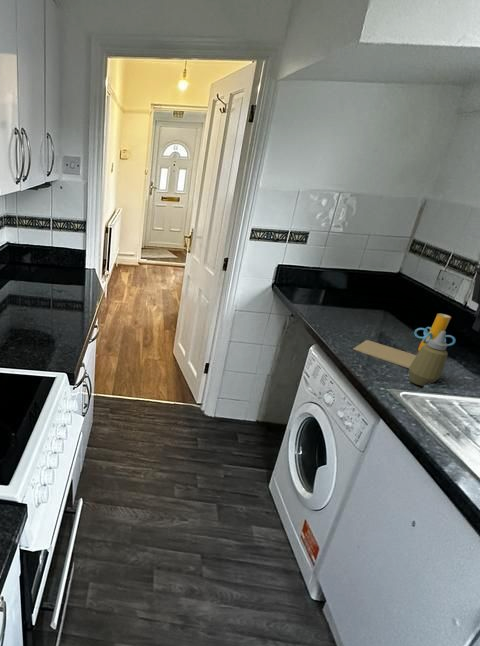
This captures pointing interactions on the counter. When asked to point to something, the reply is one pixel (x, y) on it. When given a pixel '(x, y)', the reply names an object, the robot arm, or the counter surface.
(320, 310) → the counter surface
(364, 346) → the cork mat
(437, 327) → the orange cylinder with loops
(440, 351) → the squeeze bottle
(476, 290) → the robot arm
